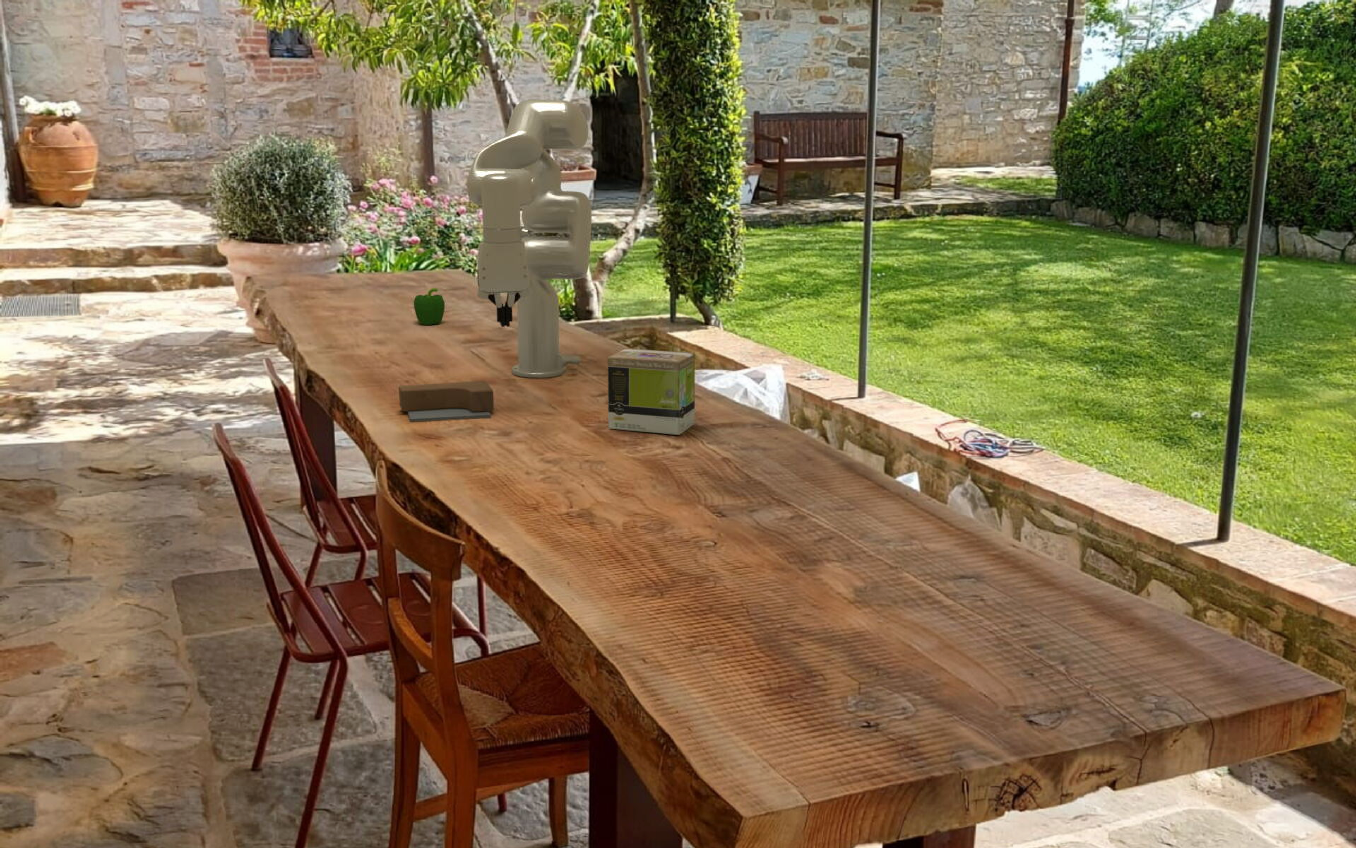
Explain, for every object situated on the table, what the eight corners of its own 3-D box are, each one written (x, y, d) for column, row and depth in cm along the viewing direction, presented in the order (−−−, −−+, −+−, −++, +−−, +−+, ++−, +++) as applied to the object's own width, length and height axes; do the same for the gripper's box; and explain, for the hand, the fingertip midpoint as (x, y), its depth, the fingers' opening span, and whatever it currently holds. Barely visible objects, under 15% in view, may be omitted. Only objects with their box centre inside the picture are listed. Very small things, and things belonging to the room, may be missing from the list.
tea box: (695, 424, 257) (696, 351, 253) (679, 437, 248) (680, 361, 244) (625, 417, 262) (625, 346, 258) (606, 429, 253) (606, 355, 249)
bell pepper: (408, 325, 357) (407, 289, 354) (422, 320, 364) (421, 285, 362) (436, 327, 354) (435, 291, 352) (449, 322, 362) (448, 287, 359)
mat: (482, 401, 273) (482, 398, 273) (490, 417, 260) (490, 414, 260) (405, 405, 269) (405, 402, 269) (410, 421, 256) (410, 419, 256)
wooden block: (493, 389, 262) (403, 395, 256) (494, 411, 263) (404, 417, 257) (485, 380, 270) (398, 385, 264) (486, 401, 271) (399, 406, 266)
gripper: (536, 232, 264) (538, 319, 270) (462, 234, 261) (466, 323, 266) (541, 237, 257) (544, 327, 263) (466, 240, 254) (470, 331, 259)
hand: (504, 325), depth 264 cm, fingers closed
